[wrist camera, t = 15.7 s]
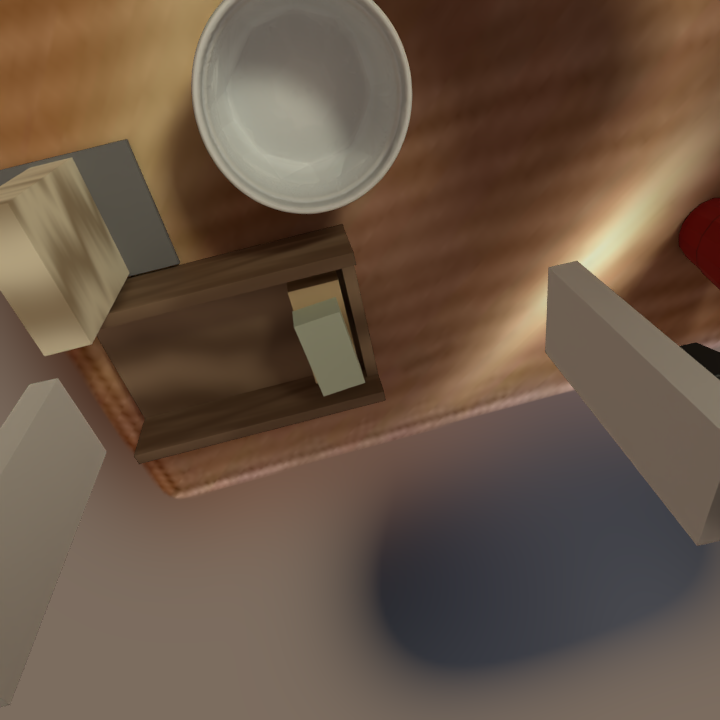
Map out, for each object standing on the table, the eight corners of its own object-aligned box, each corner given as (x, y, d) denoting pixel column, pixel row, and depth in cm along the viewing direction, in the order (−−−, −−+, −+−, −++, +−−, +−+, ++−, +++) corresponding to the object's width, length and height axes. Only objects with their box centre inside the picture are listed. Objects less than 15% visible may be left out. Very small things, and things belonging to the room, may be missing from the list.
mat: (-27, 176, 36) (-30, 178, 36) (127, 139, 36) (125, 140, 36) (46, 295, 41) (44, 297, 41) (179, 261, 42) (179, 263, 41)
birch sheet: (29, 167, 36) (-50, 216, 27) (72, 157, 36) (7, 202, 27) (92, 282, 41) (44, 356, 32) (129, 272, 41) (91, 344, 32)
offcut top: (292, 311, 40) (293, 327, 38) (335, 296, 40) (339, 311, 38) (320, 379, 44) (323, 396, 42) (360, 365, 44) (365, 382, 42)
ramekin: (322, 220, 42) (332, 252, 36) (167, 117, 36) (149, 135, 30) (426, 68, 37) (456, 77, 31) (265, -78, 31) (266, -101, 25)
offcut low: (286, 274, 42) (287, 292, 39) (333, 262, 42) (338, 279, 39) (312, 361, 47) (316, 383, 44) (354, 350, 47) (360, 372, 45)
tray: (78, 290, 41) (52, 328, 36) (342, 224, 42) (353, 252, 37) (151, 418, 49) (138, 464, 44) (373, 361, 50) (385, 400, 45)
